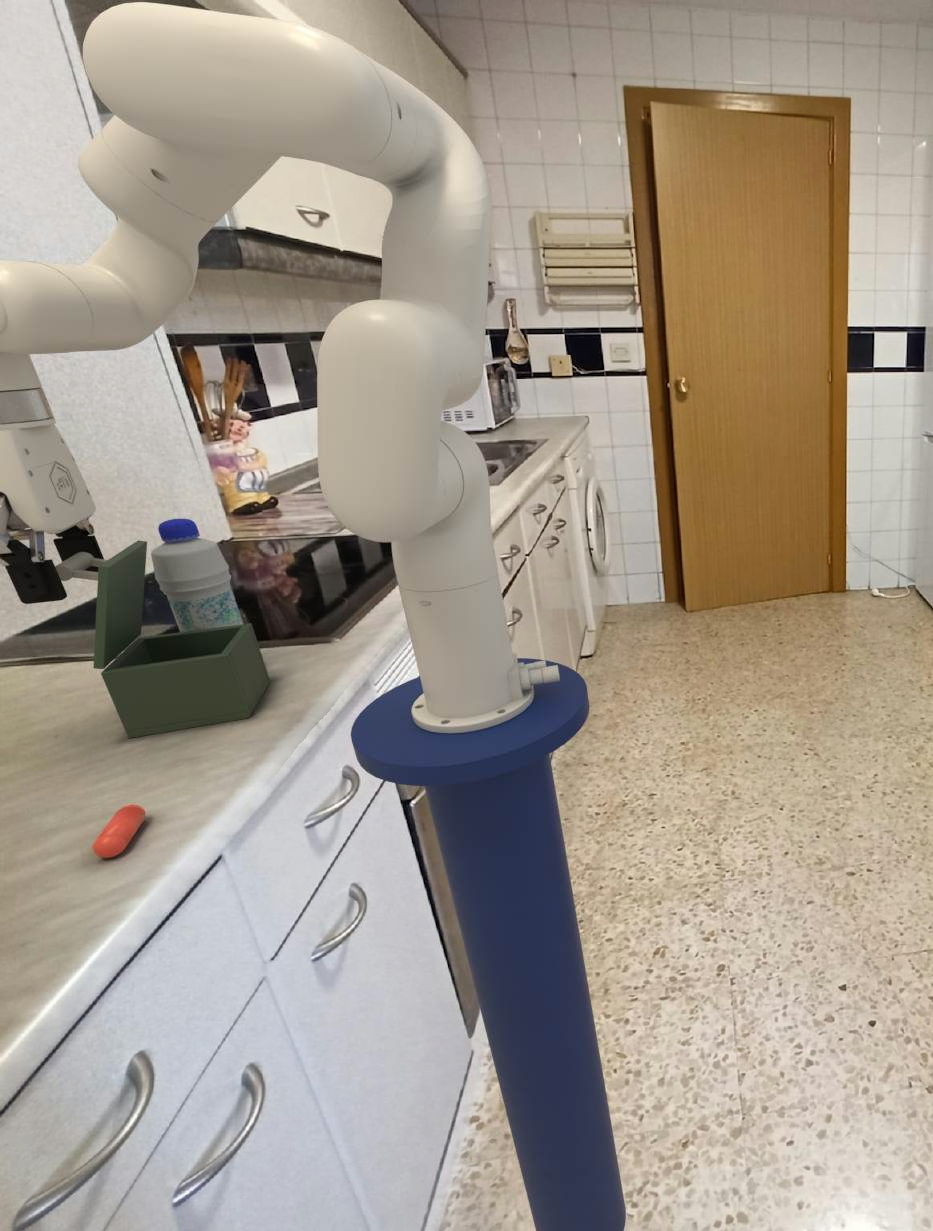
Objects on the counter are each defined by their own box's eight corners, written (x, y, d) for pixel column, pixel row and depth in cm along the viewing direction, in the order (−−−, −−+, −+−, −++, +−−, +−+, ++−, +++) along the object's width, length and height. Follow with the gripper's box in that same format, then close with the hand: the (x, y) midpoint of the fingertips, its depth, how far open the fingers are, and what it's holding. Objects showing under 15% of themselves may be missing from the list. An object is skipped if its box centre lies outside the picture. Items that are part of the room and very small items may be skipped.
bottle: (212, 666, 91) (157, 513, 84) (271, 660, 93) (223, 510, 85) (182, 690, 85) (120, 528, 78) (246, 684, 87) (192, 525, 79)
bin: (270, 681, 88) (251, 622, 85) (249, 718, 80) (227, 655, 77) (162, 698, 84) (138, 637, 81) (128, 738, 76) (100, 673, 73)
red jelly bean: (124, 822, 63) (115, 803, 62) (152, 816, 64) (144, 797, 63) (93, 866, 58) (83, 846, 57) (124, 859, 59) (115, 839, 58)
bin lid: (147, 541, 78) (85, 532, 76) (109, 567, 70) (38, 557, 68) (141, 634, 81) (81, 628, 78) (103, 669, 73) (35, 663, 70)
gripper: (-6, 420, 60) (75, 610, 67) (88, 400, 75) (148, 558, 82) (-132, 424, 58) (-34, 622, 64) (-8, 403, 72) (62, 566, 79)
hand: (68, 585), depth 73 cm, fingers open, 8 cm apart
